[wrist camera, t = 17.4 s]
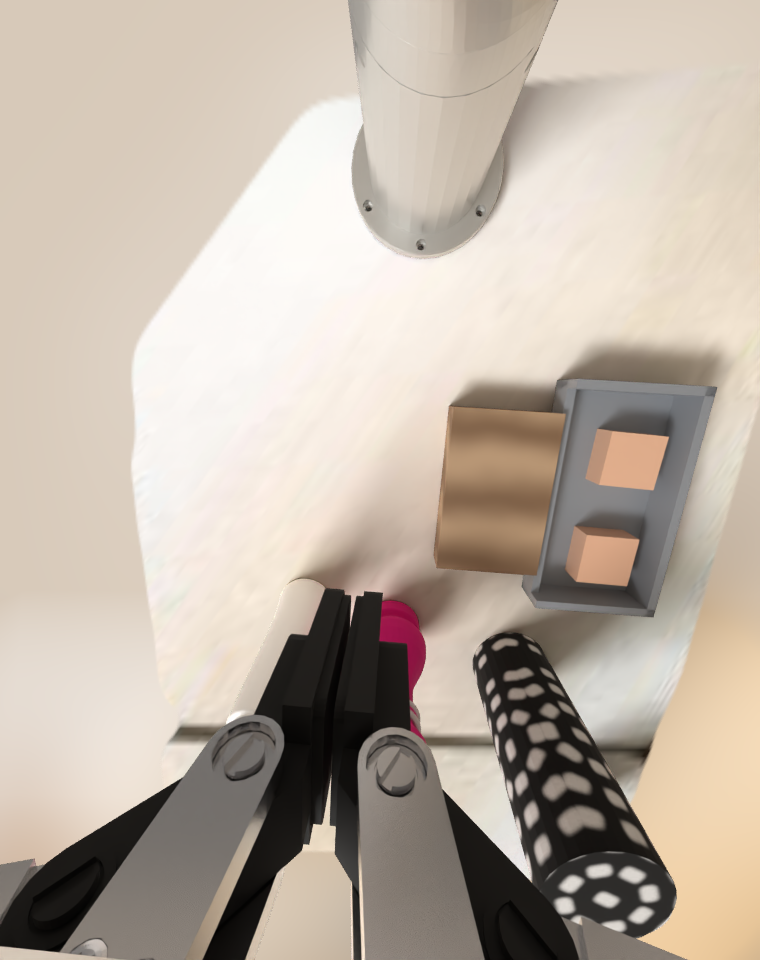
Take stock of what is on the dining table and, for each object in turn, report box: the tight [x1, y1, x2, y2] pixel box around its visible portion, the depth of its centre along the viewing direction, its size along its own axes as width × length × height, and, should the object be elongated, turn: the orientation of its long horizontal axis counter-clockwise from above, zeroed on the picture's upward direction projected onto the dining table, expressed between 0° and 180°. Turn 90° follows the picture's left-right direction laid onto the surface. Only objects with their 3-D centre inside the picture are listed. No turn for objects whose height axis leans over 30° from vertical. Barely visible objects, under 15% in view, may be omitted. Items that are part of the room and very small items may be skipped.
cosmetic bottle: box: [226, 579, 326, 724], centre depth 30 cm, size 6×6×22 cm
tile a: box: [585, 429, 669, 490], centre depth 33 cm, size 5×5×2 cm
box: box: [522, 379, 717, 617], centre depth 34 cm, size 22×12×4 cm, turn 177°
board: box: [434, 406, 566, 576], centre depth 35 cm, size 16×10×3 cm, turn 177°
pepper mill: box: [379, 601, 426, 743], centre depth 31 cm, size 7×7×20 cm
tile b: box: [565, 526, 639, 586], centre depth 36 cm, size 5×5×2 cm
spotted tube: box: [473, 633, 677, 939], centre depth 32 cm, size 8×8×20 cm
